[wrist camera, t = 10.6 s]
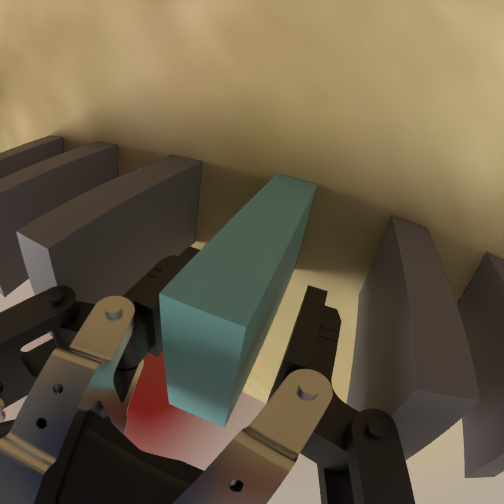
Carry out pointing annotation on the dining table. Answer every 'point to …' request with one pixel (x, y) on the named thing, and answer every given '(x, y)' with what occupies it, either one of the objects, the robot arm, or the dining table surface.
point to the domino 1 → (29, 154)
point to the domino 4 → (231, 299)
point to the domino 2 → (46, 198)
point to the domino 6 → (485, 368)
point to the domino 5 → (411, 341)
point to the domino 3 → (114, 231)
